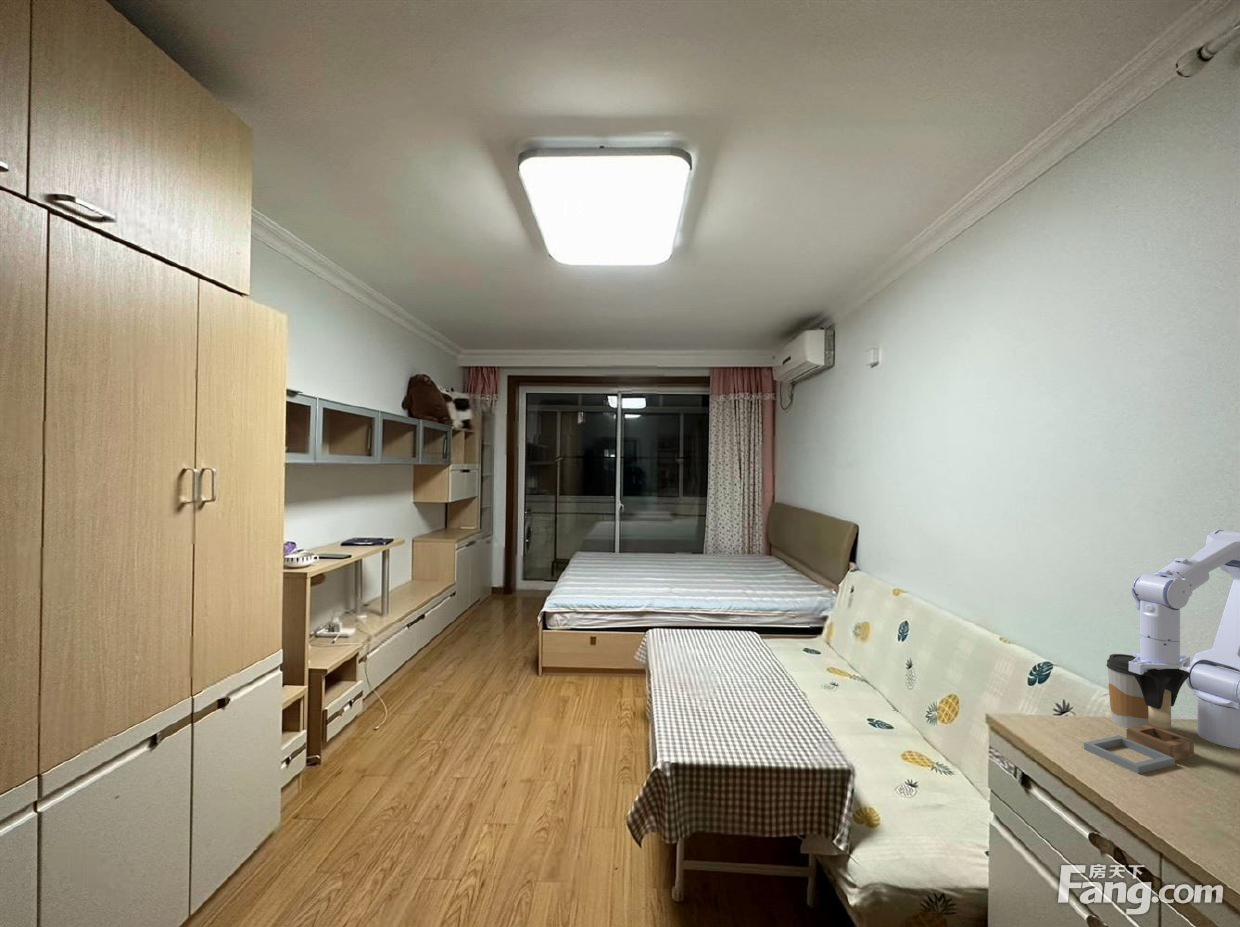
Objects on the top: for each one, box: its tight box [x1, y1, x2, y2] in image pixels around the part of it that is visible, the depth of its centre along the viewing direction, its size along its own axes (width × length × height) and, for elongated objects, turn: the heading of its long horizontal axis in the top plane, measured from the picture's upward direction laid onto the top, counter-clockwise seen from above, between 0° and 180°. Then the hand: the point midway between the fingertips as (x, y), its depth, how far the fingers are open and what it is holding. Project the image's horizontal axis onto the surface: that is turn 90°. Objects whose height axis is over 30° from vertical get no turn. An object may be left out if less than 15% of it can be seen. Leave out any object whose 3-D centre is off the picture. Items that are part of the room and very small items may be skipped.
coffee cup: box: [1105, 653, 1149, 729], centre depth 119 cm, size 8×8×15 cm
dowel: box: [1148, 689, 1172, 730], centre depth 109 cm, size 3×3×7 cm
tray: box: [1083, 735, 1176, 775], centre depth 106 cm, size 10×9×2 cm
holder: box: [1126, 724, 1195, 762], centre depth 109 cm, size 7×7×4 cm
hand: (1159, 705), depth 109 cm, fingers closed on dowel, 3 cm apart
